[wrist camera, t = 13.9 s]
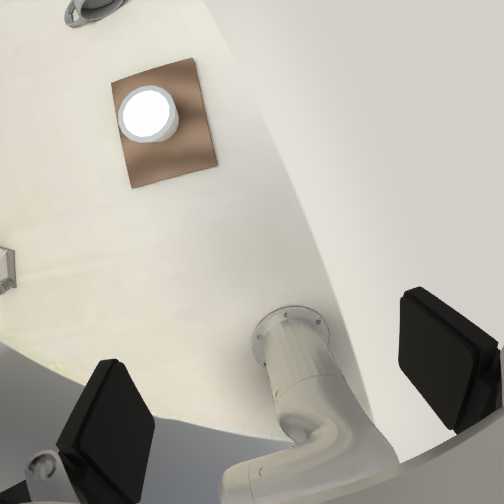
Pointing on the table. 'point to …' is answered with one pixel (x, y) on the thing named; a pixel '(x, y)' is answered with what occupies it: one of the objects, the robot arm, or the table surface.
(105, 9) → the ceramic mug
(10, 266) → the skyscraper
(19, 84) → the table surface
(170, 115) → the white short cylinder
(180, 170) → the walnut board
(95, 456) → the robot arm
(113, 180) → the table surface
